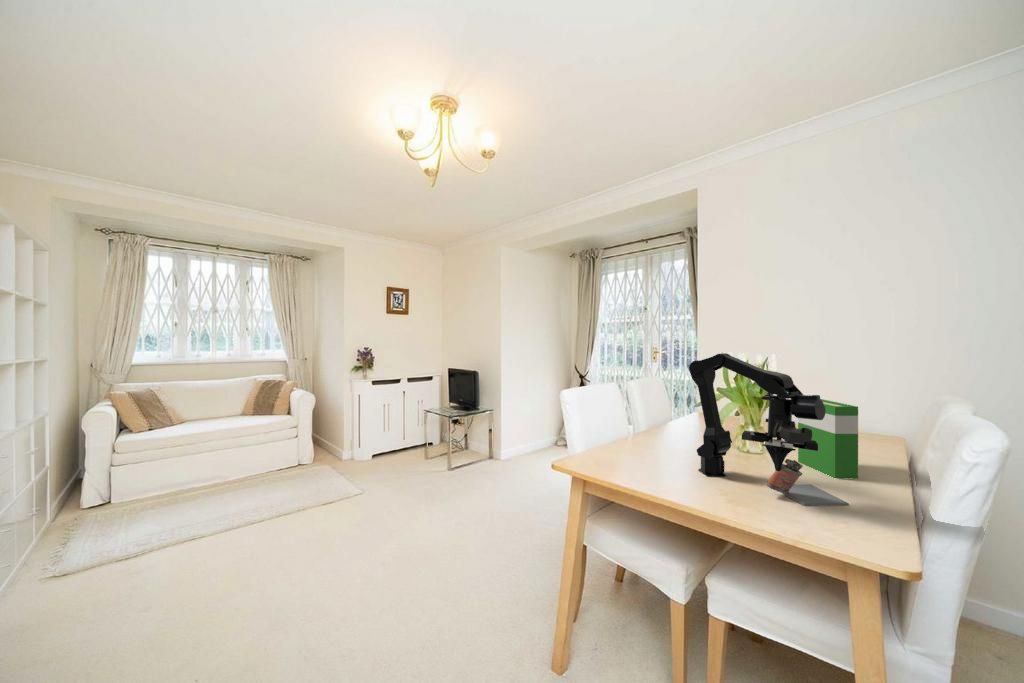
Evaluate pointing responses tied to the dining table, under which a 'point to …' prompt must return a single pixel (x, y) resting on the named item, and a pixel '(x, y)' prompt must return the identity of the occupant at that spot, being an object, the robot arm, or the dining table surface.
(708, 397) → the robot arm
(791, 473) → the lighter
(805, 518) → the dining table surface
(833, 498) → the mat
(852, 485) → the dining table surface
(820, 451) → the hardback book
